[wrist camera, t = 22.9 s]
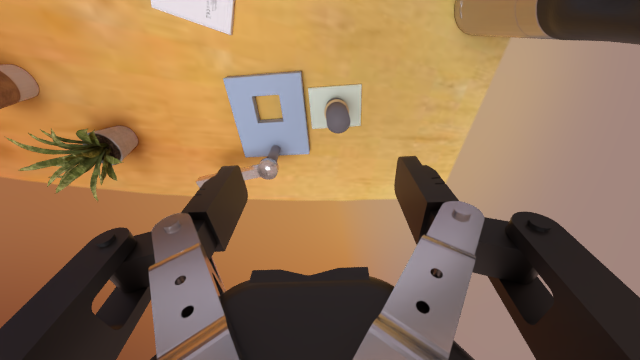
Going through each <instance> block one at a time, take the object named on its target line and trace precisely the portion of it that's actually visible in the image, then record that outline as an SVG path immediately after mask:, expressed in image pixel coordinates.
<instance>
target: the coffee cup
mask: <svg viewBox="0 0 640 360" xmlns="http://www.w3.org/2000/svg"><path fill="white" fill-rule="evenodd" d="M38 93H39V87H38V84H37V83H36V81H35V80H34V78H33V77H32V76H31V75H30V74H29V73H28V72H27V71H25V70H24V69H22V68H20V67H18V66H15V65H11V64H2V65H0V109H1V108H4V107H7V106H10V105H12V104H15V103H17V102H20V101H23V100H26V99H30V98H33V97H35V96H37V95H38Z"/></svg>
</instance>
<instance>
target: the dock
mask: <svg viewBox="0 0 640 360" xmlns="http://www.w3.org/2000/svg"><path fill="white" fill-rule="evenodd" d="M223 80H224V84H225V87H226V91H227V94H228V98H229V101H230V105H231V108H232V112H233V115H234V119H235V122H236V126H237V129H238V133H239V136H240V140H241V143H242V147H243V150H244V153H245V157H261V156H267V158H270V159H273V160H275V161H276V162H277V159H278V156H279V155H296V154H309V152H310V147H309V137H308V128H307V119H306V110H305V100H304V91H303V82H302V73H301V71H294V72H281V73H268V74H255V75H243V76H230V77H225V78H224V79H223ZM265 95H279V97H280V103H281V109H282V115H283V118H282V119H267V120H260V117H259V113H258V108H257V104H256V99H255V96H265Z"/></svg>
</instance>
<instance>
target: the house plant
mask: <svg viewBox="0 0 640 360" xmlns="http://www.w3.org/2000/svg"><path fill="white" fill-rule="evenodd" d="M94 130H95V129H94ZM41 131H42V130H41ZM42 132H43V133H45V134H46V135H47V136H49V137H51V138H53V141H54V142H50V141H46V140H43V139H39V138H37V137H35V136H33V135H32V134H30V135H31V136H32V137H33V138H35V139H36V140H38V141H40V142H42V143H46V144H49V145H55V146H59V147H61V148H65V149H69V150H49V149H42V148H37V147H33V146H28V145H24V144H21V143H18V142H16V141H14V140H12V139H9V138H7V139H8V140H10V141H11V142H13V143H14V144H16V145H18V146H20V147H22V148H24V149H27V150H30V151H34V152H38V153H43V154H71V155H68V156H64V157H59V158H55V159H50V160H46V161H42V162H38V163H35V164H33V165H31V166H29V167H24V168H21V169H20V171H24V170H36V169H40V168H45V167H49V166H62V167H61V168H59V169H58V170H57V171H56V172H55V173H54V174H53V175H52V177H51V178H50V177H48V178H50V180H49V182H48V186H49V185H50V184H51V183H52V182H53V181H54V180H55V178H56V177H58V178H61V181H60V184H59V185H58V187H57V188H56V193H58V192H59V191H61V190H62V189H64V188H65V187H66V186H68V185H69V184H70V183H71V182H72V181H74V180H75V179H76V178H78V177H79V176H81V175H82V174H83V173H85V172H87V171H88V170H90V169H91V168H92V167H93V166H94V165H95V168H94V171H93V174H92V177H91V182H90V187H91V191H92V193H93V195H94V198H95V199H96V200H98V199H97V194H96V182H97V177H98V175H99V178H100V182H101V185H102V183H103V180H104V178H105V177H106V174H108V176H109V177H111V178H112V179H114V180H116V181H117V178H116V175H115V172H114V170H113V168H112V165H116V164H119V163H122V162H121V161H122V160H123V159H124V158H125V157H126V156H127V155H128V154H129V153H130V152H131V151H132V150H133V149H134V148H135V147H136V146H137V145H138V138H137V136H136V135H135V133H134V132H133V131H132V130H131V129H129V128H127V127H125V126H115V127H110V128H106V129H102V130H98V131H92V132H90V133H87V129H85V130H79V131H77V132H76V135H77V136H78V137H79V138H80V139H81V140H82V141H76V140H70V139H65V138H61V137H58V136H56V135H55V133H54V132H53V130H52V128H51V135H50V134H48V133H46V132H45V131H42ZM28 134H29V133H28ZM4 137H5V136H4ZM61 141H63V142H68V143H80V144H83V145H78V144H65V143H63V142H61ZM79 163H80V164H79ZM101 163H103V167H102V174H101V175H100V165H101ZM77 164H78V165H77ZM76 165H77V166H76ZM75 166H76V167H75ZM65 171H66V172H65ZM64 172H65V174H64V175H63V176H59V175H60V174H62V173H64Z"/></svg>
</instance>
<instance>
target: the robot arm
mask: <svg viewBox="0 0 640 360" xmlns="http://www.w3.org/2000/svg"><path fill="white" fill-rule="evenodd" d="M454 12H455V19H456V23H457V25H458V26H459V28H460V29H461V30H462V31H463V32H465V33H467V34H470V35H481V36H498V37H519V38H540V39H559V40H592V41H611V42H621V43H631V44H639V45H640V0H456V2H455V10H454ZM394 186H395V194H396V197H397V199H398V202H399V204H400V206H401V209H402V211H403V213H404V216H405V218H406V220H407V223H408V225H409V228H410V230H411V232H412V235H413V237H414V240H415V242H416V244H417V246H416V248H415V250H414V252H413V254H412V256H411V258H410V260H409V262H408V263H407V265H406V267H405V269H404V271H403V272H402V274H401V276H400V278H399V280H398V282H397V284H396V285H395V287H394V286H392V285H390V284H389V283H387V282H384V281H383V280H380V279H377V278H374V277H370V276H369V273H368V267H354V268H337V269H333V270H329V271H325V272H322V273H318V274H314V275H309V276H307V275H302V274H298V273H293V272H289V271H284V270H254V271H252V274H251V278H250V280H248V281H245V282H243V283H240V284H238V285H236V286H234V287H232V288H231V289H229V290H227V291H226V290H225V288H224V285H223V283H222V280H221V278H220V275H219V273H218V270H217V268H216V265H215V263H214V261H213V259H212V255H213V253H214V252H216V251H217V252H220V251H225V249H226V247H227V245H228V242H229V240H230V238H231V236H232V234H233V231H234V229H235V227H236V225H237V222H238V220H239V218H240V216H241V214H242V211H243V209H244V207H245V205H246V202H247V198H248V193H247V188H246V185H245V182H244V179H243V175H242V172H241V169H240V167H239V166H223V167H221V169H220V170H219V171H218V173H217V174H216V175H215V176H213V177H211V178H210V179H208V180H207V181H206V182H204V184H203V185H202V186H201V188H200V190H198V191H197V193H196V194H195V196H194V197H193V198H192V199H191V200H190V202H189V203H188V204H187V206H186V207H185V208H184V209H183V211H182V212H181V213H177V214H173V215H170V216H168V217H166V218H164V219H162V220H161V221H160V222H158V223H157V224H156V225H155V226H154V227H153V229H152V231H151V232H147V233H144V234H140V235H136V236H133V235H132V234H131V232H130V231H129V230H128V229H127V228H115V229H111V230H109V231H106V232H104V233H102V234H100V235H98V236H97V237H95V238H94V239H92V240H91V241H90V242H89V243H88V244H87V245H86V246H85V247H84V248H82V250H80V252H78V253H77V254H76V255H75V256H74V257H73V258H72V259H71V260H70V261H69V262H68V263H67V264H66V265H65V266H64V267H63V268H62V269H61V270H60V271H59V272H58V273H57V274H56V275H55V276H54V277H53V278H52V279H51V280H50V281H49V282H48V283H47V284H46V285H44V287H42V288H41V289H40V290H39V291H38V292H37V293H36V294H35V295H34V296H33V297H32V298H31V299H30V300H29V301H28V302H27V303H26V304H25V305H24V306H23V307H22V308H21V309H20V310H19V311H18V312H17V313H16V314H15V315H14V316H13V317H12V318H11V319H10V320H9V321H8V322H6V324H4V325H3V326H2V327H1V328H0V360H116V359H117V357H118V355H119V353H120V352H121V350H122V348H123V346H124V345H125V343H126V341H127V340H128V338H129V336H130V335H131V333H132V331H133V330H134V328H135V326H136V324H137V323H138V321H139V319H140V317H141V316H142V314H143V312H144V311H145V309H146V307H147V305H148V304H149V302H150V300H151V301H152V312H153V322H154V332H155V342H156V353H157V354H156V355H155V356H154V357H152V358H151V359H150V360H474V359H473V358H472V357H471V356H470V355H469V354H468V353H467V352H466V351H464V349H462V348H461V347H460V346H459V345H458V344H457V343H456V342H455V341H454V336H455V333H456V329H457V326H458V322H459V318H460V315H461V310H462V307H463V304H464V300H465V296H466V293H467V289H468V286H469V282H470V278H471V275H472V272H474V273H478V274H482V275H486V276H488V278H489V279H490V281H491V283H492V284H493V286H494V288H495V290H496V291H497V293H498V295H499V296H500V298H501V300H502V302H503V303H504V305H505V307H506V308H507V310H508V312H509V314H510V315H511V317H512V319H513V320H514V322H515V324H516V325H517V327H518V329H519V331H520V333H521V334H522V336H523V338H524V339H525V341H526V342H527V344H528V346H529V348H530V350H531V351H532V353H533V355H534V357H535V358H536V360H640V298H639V297H638V296H637V295H636V294H635V293H634V292H633V291H632V290H631V289H630V288H628V287H627V286H626V285H625V284H624V283H623V282H622V281H621V280H620V279H619V278H617V277H616V276H615V275H614V274H613V273H612V272H611V271H610V270H609V269H608V268H606V267H605V266H604V265H603V264H602V263H601V262H600V261H599V260H598V259H597V258H596V257H594V256H593V255H592V254H591V253H590V252H589V251H588V250H587V249H586V248H585V247H584V246H582V245H581V244H580V243H579V242H578V241H577V240H576V239H575V238H574V237H573V236H572V235H570V234H569V233H568V232H567V231H566V230H565V229H564V228H563V227H562V226H560V225H559V224H558V223H557V222H555V221H553V220H552V219H550V218H548V217H545V216H543V215H540V214H537V213H532V212H517V213H515V214H514V215H513V216H512V217H511V220H510V221H509V222H508V221H502V220H497V219H491V218H485V217H484V216H483V214H482V212H481V211H480V210H479V209H477V208H476V207H474V206H472V205H470V204H467V203H465V202H460V201H459V200H458V199H457V198H456V196H455V195H454V194H453V193H452V191H451V190H450V189H449V187H448V186H447V185H446V184H445V182H444V181H443V180H442V179H441V177H440V176H439V174H438V173H437V172H436V171H435V170H434V169H432V168H430V167H429V166H427V165H423V166H422V164H421V163H420V161H419V160H418V159H417V157H416V156H405V157H399V158H398V161H397V169H396V176H395V185H394ZM538 274H539V275H540V276H541V277H542V279H543V280H544V281H545V283H546V284H547V285H548V286H549V288H550V289H551V291H552V293H553V296H552V295H551V294H550V292H549V291H548V290H547V288H546V287H545V286H544V285H543V283H542V282H541V281H540V280H539V278H538V277H537V275H538ZM109 279H110V280H111V281H112V282H113V283H114V284H115V285H116V288H115V290H114V291H113V292H112V293H111V295H110V296H109V297H108V299H107V300H106V301H105V303H104V304H103V305H102V307H101V308H100V309H99V311H98V312H97V313H96V315H95V314H94V313H93V312H92V309H91V306H92V302H93V300H94V298H95V296H96V295H97V294H98V293H99V291H100V290H101V289H102V288H103V286H104V285H105V284H106V283H107V281H108V280H109Z"/></svg>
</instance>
